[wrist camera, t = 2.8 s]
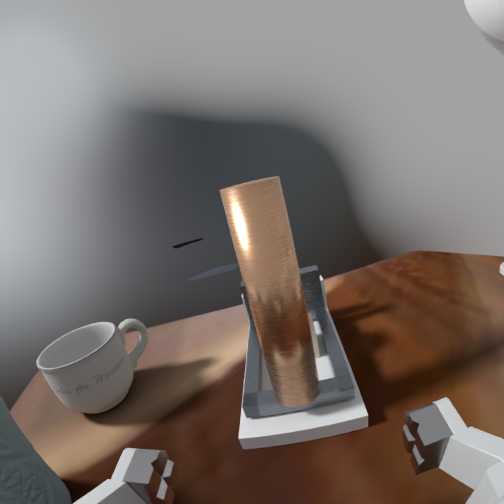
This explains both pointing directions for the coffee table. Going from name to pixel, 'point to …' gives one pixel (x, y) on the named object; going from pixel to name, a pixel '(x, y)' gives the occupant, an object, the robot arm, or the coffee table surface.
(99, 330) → the teacup
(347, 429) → the base
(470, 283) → the coffee table surface
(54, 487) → the teal tumbler
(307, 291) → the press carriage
